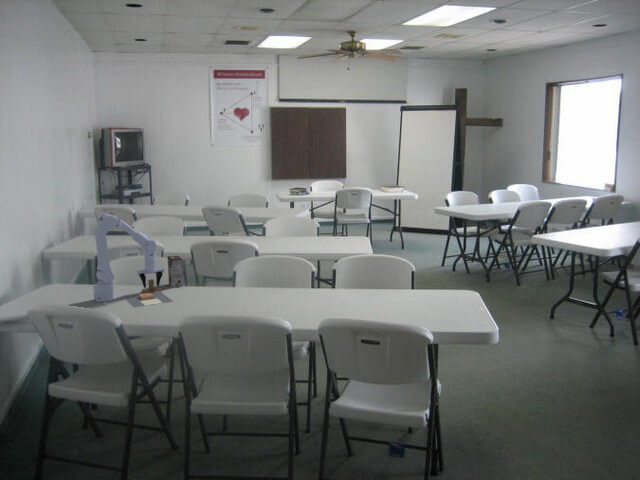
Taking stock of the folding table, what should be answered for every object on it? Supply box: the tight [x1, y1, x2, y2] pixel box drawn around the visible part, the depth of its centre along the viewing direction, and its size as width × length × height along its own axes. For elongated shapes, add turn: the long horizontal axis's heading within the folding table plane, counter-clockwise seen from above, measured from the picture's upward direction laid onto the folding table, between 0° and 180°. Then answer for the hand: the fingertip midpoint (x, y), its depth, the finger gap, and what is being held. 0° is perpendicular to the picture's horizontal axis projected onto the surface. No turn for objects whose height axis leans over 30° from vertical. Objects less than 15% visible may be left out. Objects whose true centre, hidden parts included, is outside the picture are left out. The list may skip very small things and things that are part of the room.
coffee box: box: [167, 255, 184, 288], centre depth 344 cm, size 9×6×16 cm
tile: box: [138, 292, 154, 300], centre depth 318 cm, size 6×6×2 cm
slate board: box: [122, 291, 174, 308], centre depth 316 cm, size 20×22×1 cm
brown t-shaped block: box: [141, 279, 162, 294], centre depth 330 cm, size 10×2×7 cm, turn 121°
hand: (151, 286), depth 330 cm, fingers open, 6 cm apart
